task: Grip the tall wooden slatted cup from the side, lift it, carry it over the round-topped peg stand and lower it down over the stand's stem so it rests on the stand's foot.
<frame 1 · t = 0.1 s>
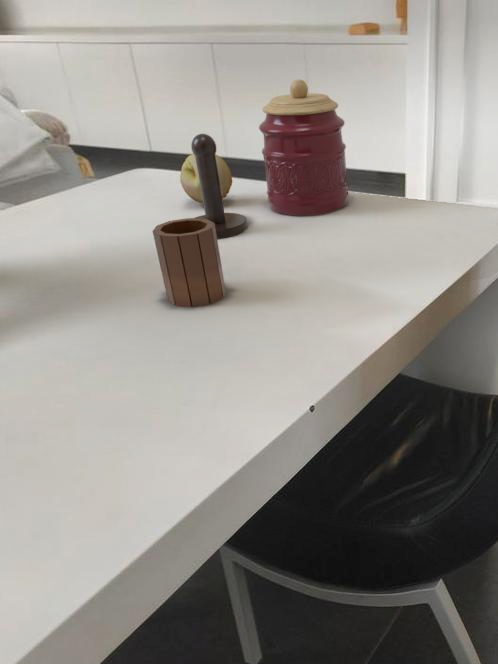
fruit: (210, 205, 114), on the table
kitchen canister: (308, 206, 110), on the table
round-topped peg stand: (217, 229, 102), on the table
wooden slatted cup: (198, 302, 79), on the table
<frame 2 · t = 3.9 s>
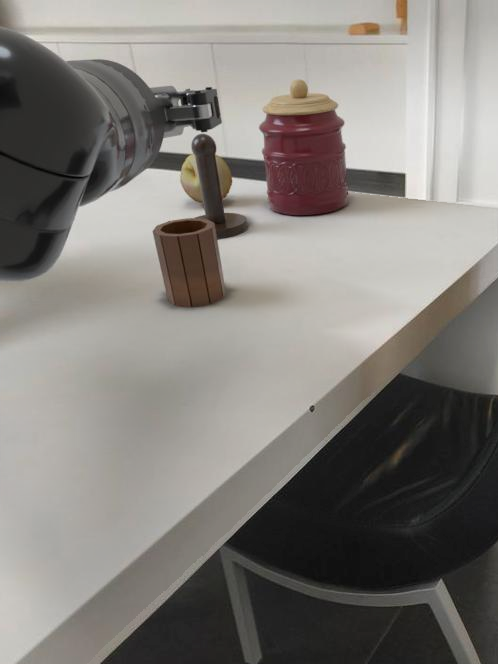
hand: (142, 108, 59), 21 cm above the table, tool horizontal, fingers open, 8 cm apart
nothing on the table moved.
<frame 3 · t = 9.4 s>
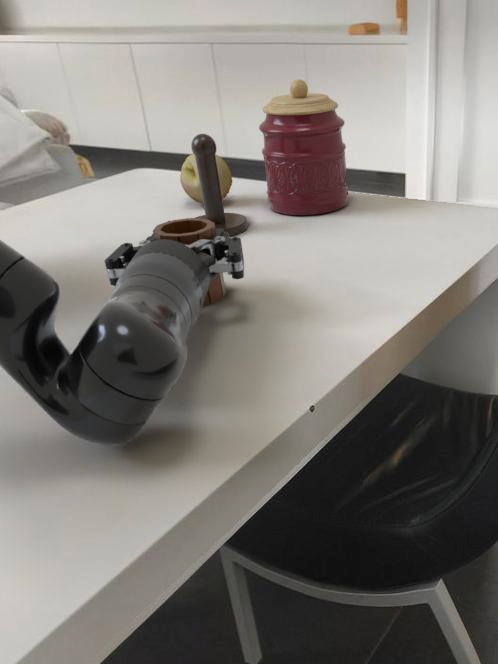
hand: (190, 238, 77), 7 cm above the table, tool horizontal, fingers closed on wooden slatted cup, 6 cm apart
wooden slatted cup: (198, 301, 79), on the table, touching gripper
everything else where it was.
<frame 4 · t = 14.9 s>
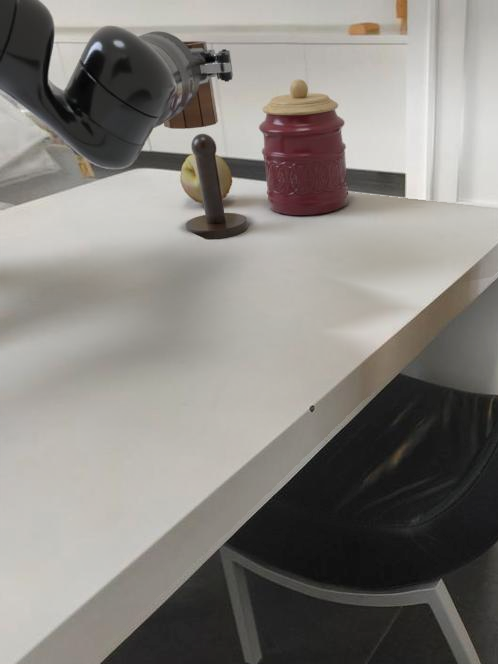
hand: (184, 61, 83), 22 cm above the table, tool horizontal, fingers closed on wooden slatted cup, 6 cm apart
wooden slatted cup: (191, 124, 85), point 15 cm above the table, touching gripper
everything else where it was.
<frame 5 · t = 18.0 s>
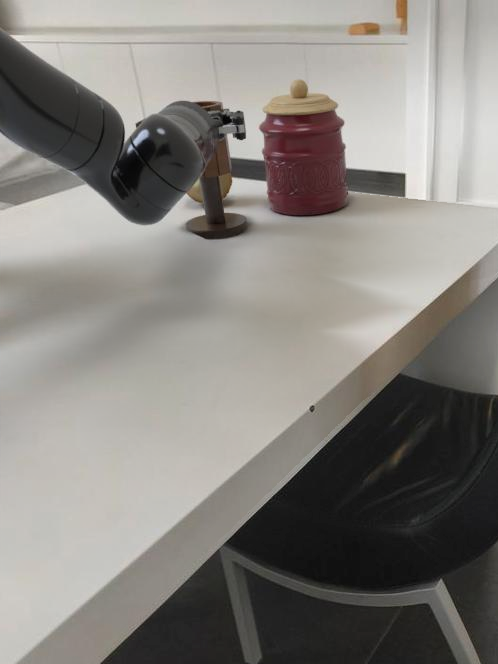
hand: (202, 118, 95), 14 cm above the table, tool horizontal, fingers closed on wooden slatted cup, 6 cm apart
wooden slatted cup: (208, 172, 97), point 8 cm above the table, touching gripper
everything else where it was.
when the fingers open (8 cm above the table, at t = 20.5 s): wooden slatted cup stays where it is, resting on round-topped peg stand.
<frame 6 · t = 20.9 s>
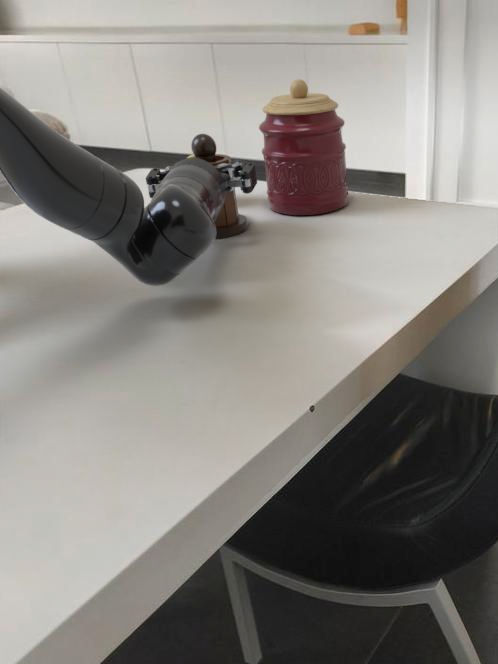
hand: (209, 168, 98), 8 cm above the table, tool horizontal, fingers open, 8 cm apart
wooden slatted cup: (216, 221, 101), point 1 cm above the table, touching round-topped peg stand
everything else where it was.
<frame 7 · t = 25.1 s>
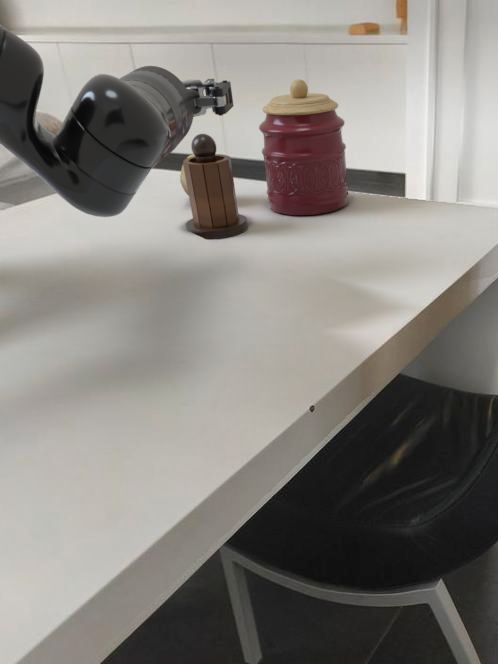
hand: (176, 90, 81), 19 cm above the table, tool horizontal, fingers open, 8 cm apart
nothing on the table moved.
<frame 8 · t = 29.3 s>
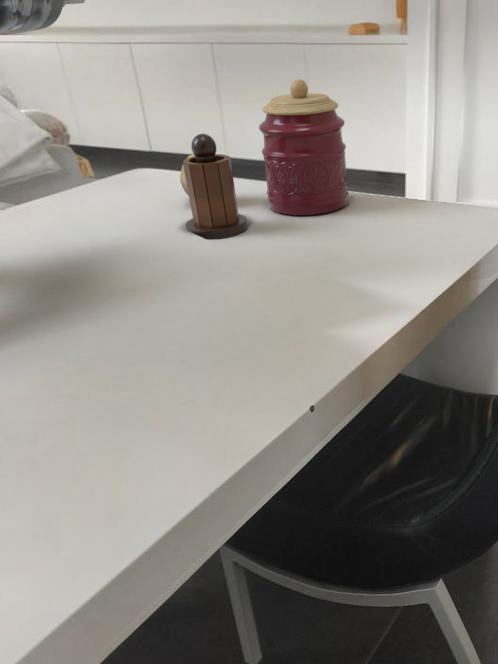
nothing on the table moved.
at the end: wooden slatted cup 0.1 cm off-centre on the round-topped peg stand, point 1.2 cm above the round-topped peg stand's base; wooden slatted cup tilted 0°; the gripper is holding nothing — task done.
